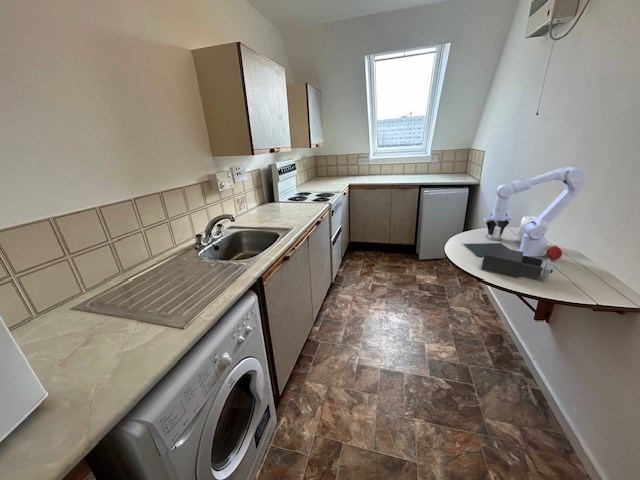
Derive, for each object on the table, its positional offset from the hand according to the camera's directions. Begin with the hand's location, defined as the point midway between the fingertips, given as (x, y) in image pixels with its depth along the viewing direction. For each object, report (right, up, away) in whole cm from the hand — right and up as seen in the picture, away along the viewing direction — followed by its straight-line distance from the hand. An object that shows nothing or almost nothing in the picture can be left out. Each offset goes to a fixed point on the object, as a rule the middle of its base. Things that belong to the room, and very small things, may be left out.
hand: (494, 234), depth 138 cm
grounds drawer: (+1, -18, -22) cm, 28 cm away
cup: (+24, -5, +10) cm, 26 cm away
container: (0, -1, +1) cm, 1 cm away
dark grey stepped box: (-7, -16, -16) cm, 24 cm away
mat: (-1, -9, +3) cm, 9 cm away
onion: (+21, -13, -10) cm, 27 cm away
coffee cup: (+11, -2, +17) cm, 20 cm away
